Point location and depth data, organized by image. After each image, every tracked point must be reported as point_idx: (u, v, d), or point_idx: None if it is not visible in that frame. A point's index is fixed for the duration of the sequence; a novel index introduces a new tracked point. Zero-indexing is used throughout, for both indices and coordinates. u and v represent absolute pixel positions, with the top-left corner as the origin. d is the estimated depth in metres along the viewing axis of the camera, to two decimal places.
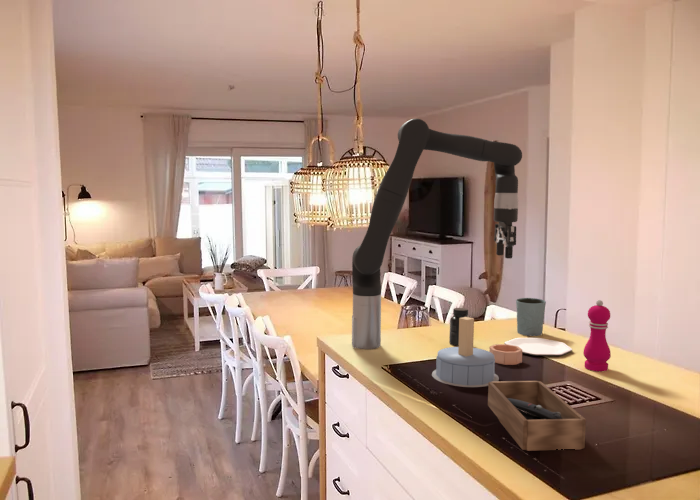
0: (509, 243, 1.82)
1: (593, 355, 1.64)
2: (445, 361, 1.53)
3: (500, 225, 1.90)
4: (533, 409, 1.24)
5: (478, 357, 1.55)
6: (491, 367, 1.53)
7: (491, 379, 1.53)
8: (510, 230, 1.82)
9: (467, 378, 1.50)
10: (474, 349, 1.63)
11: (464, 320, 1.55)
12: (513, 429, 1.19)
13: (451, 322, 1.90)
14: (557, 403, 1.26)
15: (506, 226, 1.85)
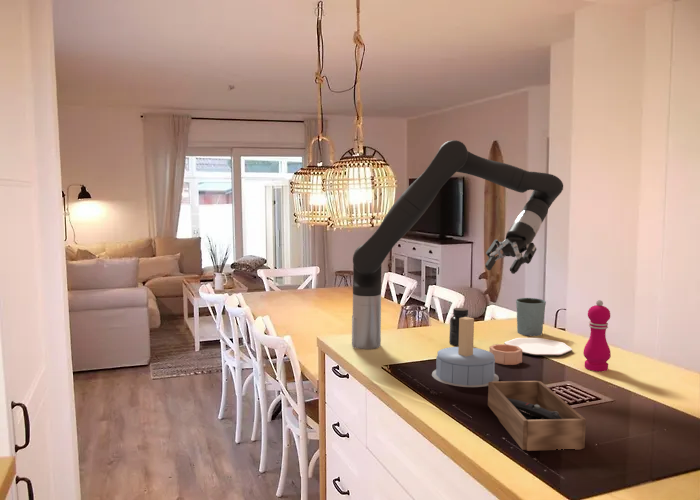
0: (526, 257, 1.64)
1: (593, 355, 1.64)
2: (445, 361, 1.53)
3: (509, 241, 1.72)
4: (531, 408, 1.24)
5: (478, 357, 1.55)
6: (491, 367, 1.53)
7: (491, 379, 1.53)
8: (533, 247, 1.66)
9: (467, 378, 1.50)
10: (474, 349, 1.63)
11: (464, 320, 1.55)
12: (513, 429, 1.19)
13: (451, 322, 1.90)
14: (557, 403, 1.26)
15: (524, 243, 1.68)
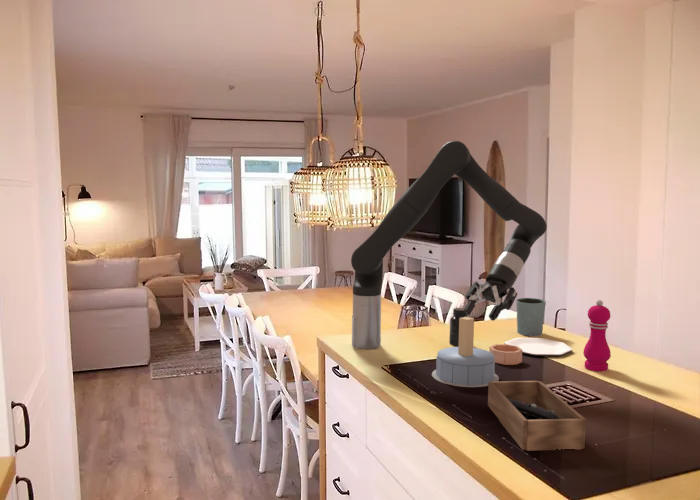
0: (506, 303, 1.56)
1: (593, 355, 1.64)
2: (445, 361, 1.53)
3: (489, 284, 1.64)
4: (528, 408, 1.24)
5: (478, 357, 1.55)
6: (491, 367, 1.53)
7: (491, 379, 1.53)
8: (513, 292, 1.58)
9: (467, 378, 1.50)
10: (474, 349, 1.63)
11: (464, 320, 1.55)
12: (513, 429, 1.19)
13: (451, 322, 1.90)
14: (557, 403, 1.26)
15: (505, 287, 1.60)
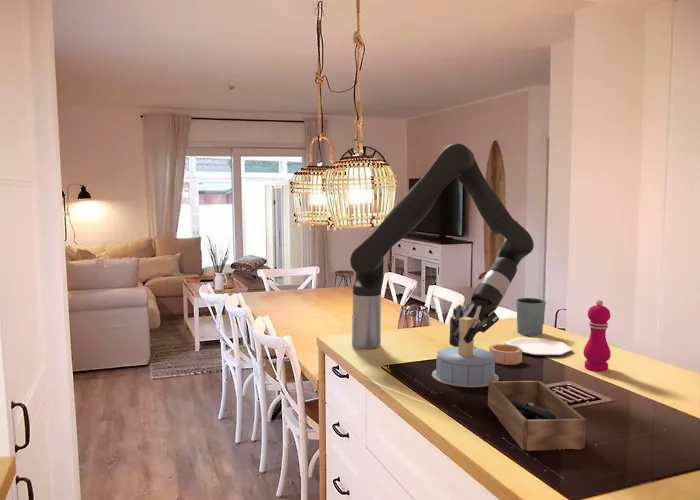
0: (481, 326, 1.54)
1: (593, 355, 1.64)
2: (445, 361, 1.53)
3: (474, 304, 1.61)
4: (525, 407, 1.25)
5: (478, 357, 1.55)
6: (491, 367, 1.53)
7: (491, 379, 1.53)
8: (493, 318, 1.54)
9: (467, 378, 1.50)
10: (474, 349, 1.63)
11: (464, 320, 1.55)
12: (513, 429, 1.19)
13: (451, 322, 1.90)
14: (557, 403, 1.26)
15: (490, 309, 1.56)
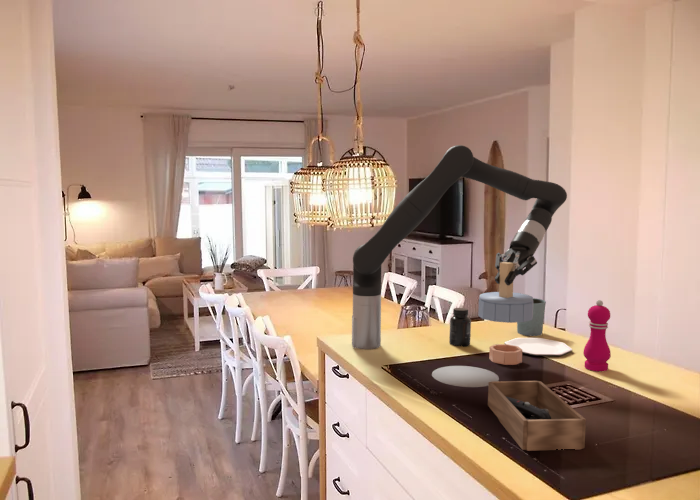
0: (521, 269, 1.66)
1: (593, 355, 1.64)
2: (488, 301, 1.66)
3: (513, 250, 1.73)
4: (521, 406, 1.26)
5: (518, 298, 1.67)
6: (530, 306, 1.65)
7: (530, 318, 1.66)
8: (532, 261, 1.66)
9: (509, 316, 1.63)
10: (513, 293, 1.75)
11: (504, 264, 1.68)
12: (513, 429, 1.19)
13: (451, 322, 1.90)
14: (557, 403, 1.26)
15: (528, 253, 1.69)
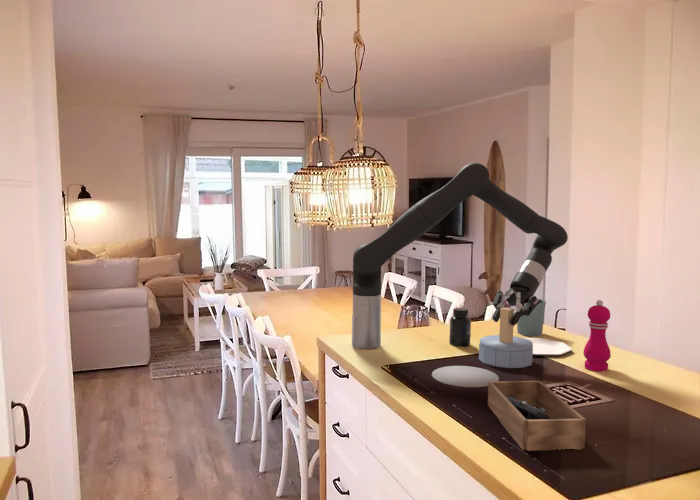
0: (526, 310, 1.68)
1: (593, 355, 1.64)
2: (488, 347, 1.68)
3: (513, 290, 1.75)
4: (518, 405, 1.26)
5: (518, 344, 1.70)
6: (530, 353, 1.68)
7: (530, 364, 1.69)
8: (534, 301, 1.69)
9: (509, 362, 1.66)
10: (512, 337, 1.78)
11: (505, 310, 1.71)
12: (513, 429, 1.19)
13: (451, 322, 1.90)
14: (557, 403, 1.26)
15: (529, 294, 1.71)
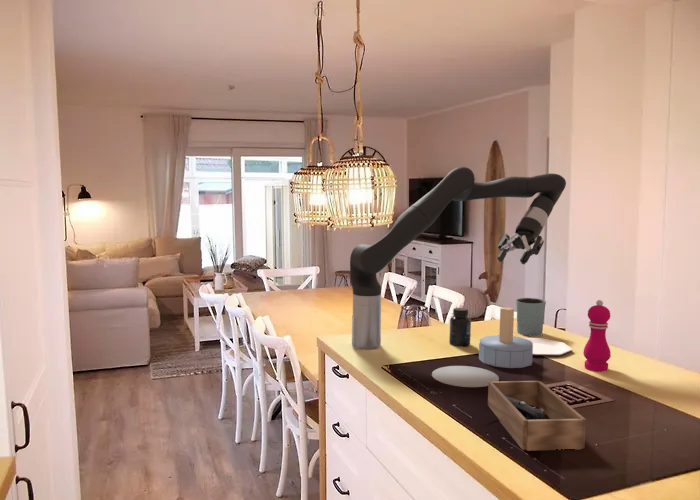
0: (535, 249, 1.81)
1: (593, 355, 1.64)
2: (488, 347, 1.68)
3: (518, 235, 1.89)
4: (517, 405, 1.26)
5: (518, 344, 1.70)
6: (530, 353, 1.68)
7: (530, 364, 1.69)
8: (540, 240, 1.82)
9: (509, 362, 1.66)
10: (512, 337, 1.78)
11: (505, 310, 1.71)
12: (513, 429, 1.19)
13: (451, 322, 1.90)
14: (557, 403, 1.26)
15: (533, 236, 1.85)
